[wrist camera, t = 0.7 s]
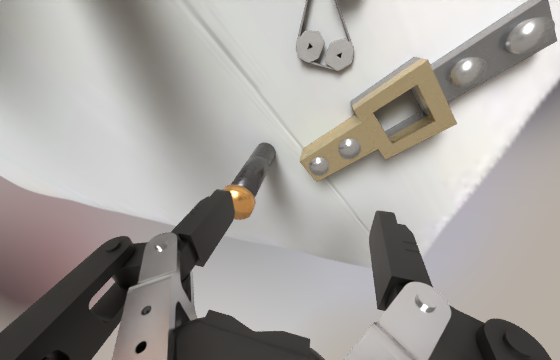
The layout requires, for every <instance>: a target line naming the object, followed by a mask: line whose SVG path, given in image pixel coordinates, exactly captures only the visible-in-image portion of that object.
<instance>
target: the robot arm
mask: <svg viewBox="0 0 560 360" xmlns="http://www.w3.org/2000/svg"><path fill="white" fill-rule="evenodd" d="M234 216H235V209H234V204H233V199H232V194H231V192H230V191H227V190H219V189H217V190H216V191H215V192H214V193H213V194H212V195H211V196H210V197H206V198H205V199H203V200H201V201H200V202H199V203H198V204H197V205H196V206H195V207H194V209H192V210H191V211H190V213H189V214H188V215H187V216H186V217H185V218H184V219H183V220H182V221H181V222H180V223H179V224H178V225H177V226H176V227H175V228H174V229H173V230H172V232H170V233H163V234H159V235H157V236H156V237H154V238H152V239H151V240H150V241H149V242H147V243H137V244H133V243H132V241H131V240H130V238H129V237H126V236H120V237H116V238H113V239H111V240H109V241H107V242H106V243H104V244H103V245H101V246H100V247H99V248H98V249H97V250H95V251H94V252H93V253H92V254H91V255H90V256H89V257H88V258H86V259H85V260H84V261H83V262H82V263H80V264H79V265H78V266H77V267H76V268H75V269H73V270H72V271H71V272H70V273H69V274H68V275H67V276H65V277H64V278H63V279H62V280H61V281H60V282H58V283H57V284H56V285H55V286H54V287H53V288H52V289H50V290H49V291H48V292H47V293H46V294H45V295H43V296H42V297H41V298H40V299H39V300H38V301H36V302H35V303H34V304H33V305H32V306H31V307H30V308H28V309H27V310H26V311H25V312H24V313H23V314H21V315H20V316H19V317H18V318H17V319H16V320H14V321H13V322H12V323H11V324H10V325H9V326H8V327H6V328H5V329H4V330H3V331H2V332H1V333H0V360H91V359H92V358H93V357H94V355H95V354H96V353H97V352H98V350H99V349H100V347H101V346H102V345H103V343H104V342H105V341H106V340H107V338H108V337H109V336H110V334H111V333H112V332H113V330H114V329H115V328H116V327H117V325H118V324H119V323H120V321H121V323H120V327H119V331H118V336H117V340H116V344H115V349H114V353H113V357H112V360H325V359H324V358H323V357H321V355H319V354H318V353H317V352H316V351H314V350H313V349H312V348H310V339H308V338H305V337H301V336H298V335H294V334H291V333H288V332H284V331H265V332H255V331H252V330H251V329H249V328H248V327H246V326H245V325H243V324H242V323H240V322H239V321H238V320H236V319H235V318H233V317H232V316H229V315H226V314H222V313H219V312H215V311H212V310H209V311H208V313H207V315H206V317H203V318H197V316H196V312H195V306H194V290H193V272H192V269H193V267H194V266H195V265H197V266H201V267H203V266H204V265H205V263H206V262H207V260H208V259H209V257H210V255H211V254H212V252H213V251H214V249H215V247H216V246H217V245H218V243H219V242H220V240H221V238H222V237H223V235H224V234H225V232H226V231H227V229H228V228H229V226H230V225H231V223H232V221H233V220H234ZM416 244H417V243H416V240H415V238H414V235H413V233H412V232H411V231H410V230H409V229H408V228H407V226H406V225H402V224H397V221H396V217H395V214H394V213H392V212H384V211H376V213H375V217H374V220H373V224H372V227H371V231H370V237H369V245H370V253H371V261H372V269H373V277H374V285H375V293H376V300H377V309H379V310H383V311H385V312H384V313H383V315H382V316H381V317H380V318H379V320H378V321H377V322H376V323H373V324H372V325H371V326H370V327H369V329H368V330H367V331H366V333H365V334H364V335H363V336H362V337H361V339H360V340H359V341H358V342H357V344H356V345H355V346H354V348H353V349H352V350H351V351H350V353H349V354H348V355H347V356H346V358H345V359H344V360H551V358H550V357H549V355H548V354H547V352H546V351H545V349H544V348H543V347H542V346H541V345H540V343H539V342H538V341H537V340H536V339H535V338H534V337H532V336H531V335H530V334H529V333H527V332H526V331H525V330H523V329H522V328H520V327H519V326H517V325H515V324H513V323H511V322H508V321H505V320H502V319H490V320H488V321H487V322H486V323H483V322H481V321H479V320H477V319H475V318H473V317H471V316H469V315H466V314H464V313H462V312H460V311H458V310H456V309H454V308H453V307H451V306H450V305H449V304H448V302H447V301H446V299H445V298H444V297H443V296H442V295H441V294H440V293H439V292H438V291H437V290H435V289H434V288H433V286H432V284H431V281H430V279H429V276H428V273H427V270H426V268H425V265H424V262H423V259H422V257H421V254H420V253H419V252H420V251H419V249H418V246H417V245H416ZM111 277H112V278H113V279H114V280H115V283H114V284H113V285H112V286H111V288H110V289H109V290H108V291H107V292H106V293H105V294H104V295H103V296H102V297H101V299H100V300H99V301H98V302H97V303H96V304H95V305H94V306H93V307H92V308H91V310H89V302H90V300H91V298H92V297H93V296H94V295H95V294H96V293H97V292H98V291H99V290H100V289H101V287H103V285H104V284H105V283H106V282H107V281H108V280H109V279H110V278H111Z"/></svg>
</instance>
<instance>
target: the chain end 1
mask: <svg viewBox="0 0 560 360" xmlns="http://www.w3.org/2000/svg"><path fill="white" fill-rule="evenodd" d="M413 87H414V88H415V90H416V92H417V94H418V96H419V98H420V100H421V102H422V104H423V106H424V108H425V110H426V112H427V114H428V116H426V117H425V118H423V119H421V120H419V121H417V122H415V123H414V124H412V125H410V126H408V127H406V128H405V129H403V130H401V131H399V132H397V133H395V134H394V135H392V136H390V137H387V135H386V133H385V132H384V130H383V128H382V127H381V125H380V123H379V122H378V120H377V118H376V117H375V115H374V114H373V112H375V111H376V110H378V109H379V108H381V107H383V106H384V105H386V104H387V103H389V102H391V101H392V100H394V99H395V98H397V97H398V96H400V95H402V94H403V93H405V92H406V91H408V90H409V89H411V88H413ZM352 108H353V110H354V112H355V113H356V114H355V115H354V116H352V117H351V118H349V119H348V120H346V121H345V122H343V123H342V124H340V125H338V126H337V127H335V128H334V129H332V130H331V131H329V132H328V133H326V134H325V135H323V136H322V137H320V138H319V139H317V140H316V141H314V142H313V143H311V144H310V145H308V146H307V147H305V148H304V149H303V150H302V154H301V158H300V163H301V164H302V165H303V166H304V168H305V169H306V170H307V171H308V172H309V174H310V175H311V176H312V177H313V178H314V180H315V181H316V182H317V181H319V180H321V179H323V178H325V177H327V176H329V175H330V174H332V173H334V172H336V171H338V170H340V169H342V168H344V167H345V166H347V165H349V164H351V163H353V162H355V161H357V160H358V159H360V158H362V157H364V156H366V155H368V154H370V153H372V152H373V151H375V150H377V149H379V151H380V152H381V154H382V155H383V157H384V158H385V160H386V159H388V158H390V157H392V156H394V155H396V154H398V153H400V152H402V151H404V150H406V149H408V148H410V147H412V146H414V145H416V144H418V143H420V142H422V141H424V140H426V139H428V138H430V137H432V136H434V135H436V134H438V133H440V132H442V131H444V130H446V129H448V128H450V127H452V126H454V125H456V124H457V122H456V120H455V118H454V116H453V114H452V111H451V109H450V107H449V105H448V103H447V100H446V98H445V96H444V94H443V92H442V89H441V87H440V85H439V83H438V81H437V78H436V76H435V74H434V72H433V70H432V67H431V65H430V63H429V61H428V60H426V59H421V58H420V59H419V60H417V61H416V62H414V63H413V64H411V65H410V66H409V67H407V68H406V69H404V70H403V71H401V72H400V73H398V74H397V75H395V76H394V77H393V78H391V79H390V80H388V81H387V82H385V83H384V84H382V85H381V86H379V87H378V88H377V89H375V90H374V91H372V92H371V93H369V94H368V95H366V96H365V97H363V98H362V99H361V100H359V101H358V102H356V103H355V104H353V105H352Z"/></svg>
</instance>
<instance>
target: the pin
mask: <svg viewBox="0 0 560 360" xmlns="http://www.w3.org/2000/svg"><path fill="white" fill-rule="evenodd" d="M274 157H275V149H274V147H273V146H272V145H270V144H268V143H261V144H259V145H258V146H257V147H256V149H255V150H254V152H253V153H252V155H251V156H250V158H249V159H248V161H247V162H246V163H245V165H244V166H243V168H242V169H241V171H240V172H239V174H238V175H237V176H236V178H235V179H234V181H233V182H232V184H231V185H228V186H226V187H225V188H224V189H223V190H227V191H230V192H231V194H232V199H233V204H234V209H235V216H234V219H239V220H240V219H246V218H248V217H249V216H250V215H251V213H252V211H253V209H254V206H255V196H256V194H257V192H258V190H259V188H260V186H261V184H262V182H263V180H264V177H265V175H266V173H267V171H268V169H269V167H270V165H271V163H272V161H273V159H274Z"/></svg>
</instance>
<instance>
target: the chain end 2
mask: <svg viewBox="0 0 560 360" xmlns="http://www.w3.org/2000/svg"><path fill="white" fill-rule="evenodd" d="M556 41H557V38H556V34H555V23H554V21H553V20H552V15H551V11H550V6H549V2H548V0H528V1H527V2H525V3H524V4H522V5H521V6H519V7H518V8H516V9H515V10H513V11H512V12H510V13H509V14H507V15H506V16H504V17H502V18H501V19H499V20H498V21H496V22H495V23H493V24H492V25H490V26H489V27H487V28H486V29H484V30H483V31H481V32H480V33H478V34H477V35H475V36H474V37H472V38H471V39H469V40H468V41H466V42H465V43H463V44H461V45H460V46H458V47H457V48H455V49H454V50H452V51H451V52H449V53H448V54H446V55H445V56H443V57H442V58H440V59H439V60H437V61H436V62H434V63H433V64H431V67H432V70H433V72H434V74H435V76H436V78H437V81H438V83H439V85H440V87H441V89H442V92H443V94H444V96H445V98H446V100H447V102H448V101H450V100H452V99H454V98H456V97H457V96H459V95H461V94H463V93H465V92H466V91H468V90H470V89H472V88H474V87H475V86H477V85H479V84H481V83H483V82H484V81H486V80H488V79H490V78H492V77H493V76H495V75H497V74H499V73H501V72H502V71H504V70H506V69H508V68H510V67H511V66H513V65H515V64H517V63H519V62H520V61H522V60H524V59H526V58H528V57H529V56H531V55H533V54H535V53H537V52H538V51H540V50H542V49H544V48H545V47H547V46H549V45H551V44H553V43H554V42H556ZM419 59H420V58H416V57H413V58H412V59H410V60H409V61H408V62H406V63H405V64H403V65H402V66H400V67H399V68H398V69H396V70H395V71H393V72H392V73H390V74H389V75H388V76H386V77H385V78H383V79H382V80H380V81H379V82H378V83H376V84H375V85H373V86H372V87H370V88H369V89H368V90H366V91H365V92H363V93H362V94H360V95H359V96H358V97H356V98H355V99H353V100H352V101H351V105H353V104H355V103H356V102H358V101H359V100H361V99H362V98H363V97H365V96H366V95H368V94H369V93H371V92H372V91H374V90H375V89H377V88H378V87H379V86H381V85H382V84H384V83H385V82H387V81H388V80H390V79H391V78H393V77H394V76H395V75H397V74H398V73H400V72H401V71H403V70H404V69H406V68H407V67H409V66H410V65H411V64H413V63H414V62H416V61H417V60H419ZM411 90H412V92H413V94H414V96H415V98H416V100H417V102H418V104H419V106H420V108H421V109H422V111H420V112H419V113H417V114H415V115H413V116H412V117H410V118H408V119H406V120H405V121H403V122H401V123H399V124H398V125H396V126H394V127H392V128H391V129H389V130H387V131H384V132H385V133H386V135H387V137H390V136H392V135H394V134H395V133H397V132H399V131H401V130H403V129H405V128H406V127H408V126H410V125H412V124H414V123H415V122H417V121H419V120H421V119H423V118H425V117H426V116H428V114H427V112H426V110H425V108H424V106H423V104H422V102H421V100H420V98H419V96H418V94H417V92H416V90H415V88H414V87H413V88H411ZM373 114H374V113H373Z"/></svg>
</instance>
